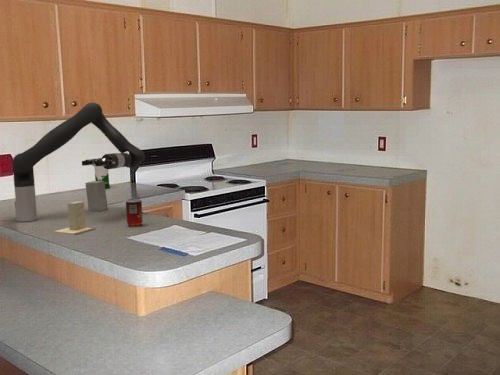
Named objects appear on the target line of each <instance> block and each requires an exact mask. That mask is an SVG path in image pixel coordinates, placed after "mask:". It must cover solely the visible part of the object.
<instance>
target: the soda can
mask: <svg viewBox="0 0 500 375" xmlns="http://www.w3.org/2000/svg"><path fill="white" fill-rule="evenodd" d="M142 202H143V201H142V200H141V199H140V198H129V199H126V201H125V212H126V223H127V224H128V227H131V228H136V227H137V228H138V227H141V226H142V223H143V206H142V205H143V204H142Z"/></svg>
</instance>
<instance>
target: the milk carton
mask: <svg viewBox="0 0 500 375" xmlns="http://www.w3.org/2000/svg"><path fill="white" fill-rule="evenodd" d="M93 167H94V178H95V180H94V181H104V183H105V190H108V189H111V186H110V174H109V169H105V168H104V167H103V166H93Z"/></svg>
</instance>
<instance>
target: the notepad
mask: <svg viewBox="0 0 500 375" xmlns="http://www.w3.org/2000/svg"><path fill="white" fill-rule="evenodd" d="M95 230H96V228H94V227H86V228H83V229H79V230H70V228H69V227H64V228H61V229H58V230H55V231H54V233H61V234H69V235H80V234H85V233H88V232H92V231H95Z"/></svg>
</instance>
